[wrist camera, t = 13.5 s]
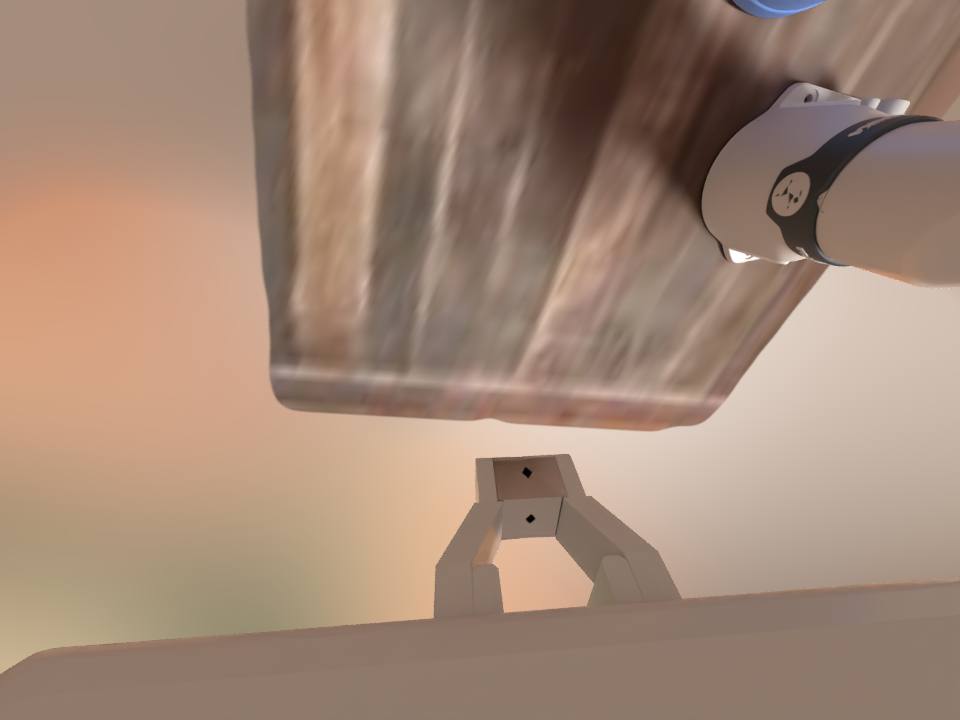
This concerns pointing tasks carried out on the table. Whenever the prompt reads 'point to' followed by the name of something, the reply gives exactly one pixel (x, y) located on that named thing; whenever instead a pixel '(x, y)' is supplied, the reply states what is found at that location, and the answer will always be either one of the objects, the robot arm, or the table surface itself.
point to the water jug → (775, 7)
